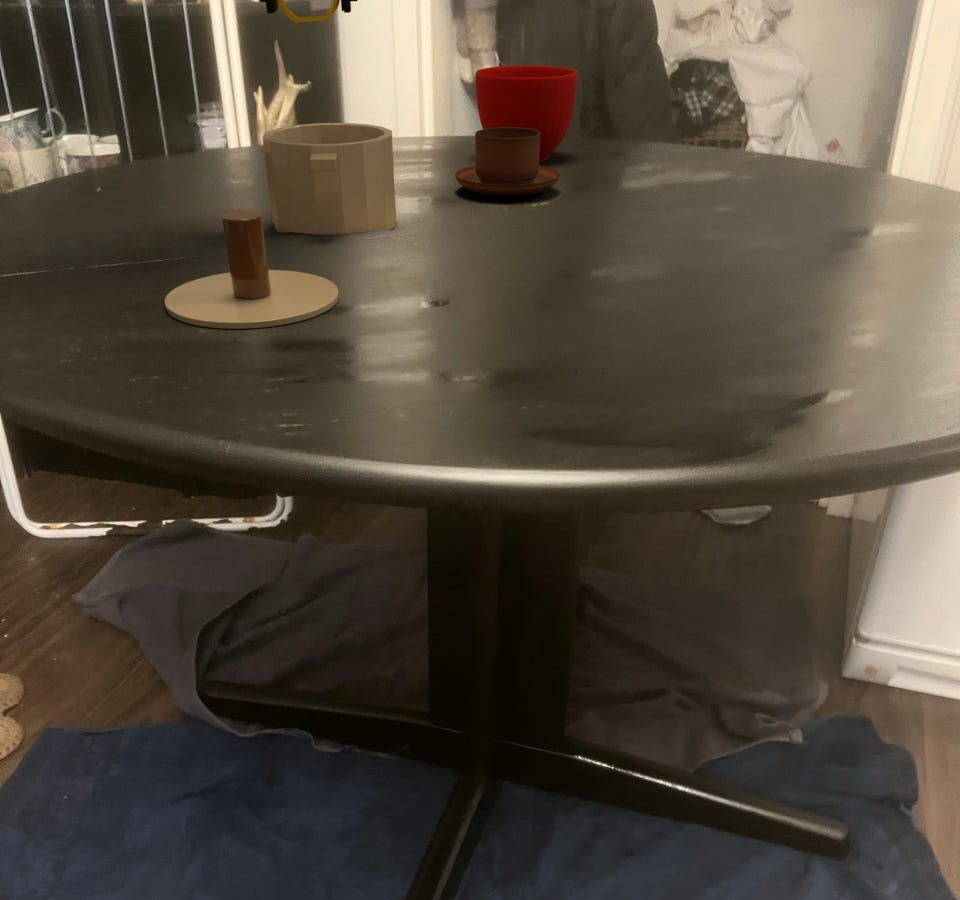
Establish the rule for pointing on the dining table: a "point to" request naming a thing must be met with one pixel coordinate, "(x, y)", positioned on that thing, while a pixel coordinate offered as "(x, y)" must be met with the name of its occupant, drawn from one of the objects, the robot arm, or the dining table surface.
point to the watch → (307, 19)
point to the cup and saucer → (507, 163)
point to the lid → (250, 286)
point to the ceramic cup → (528, 100)
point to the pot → (331, 178)
